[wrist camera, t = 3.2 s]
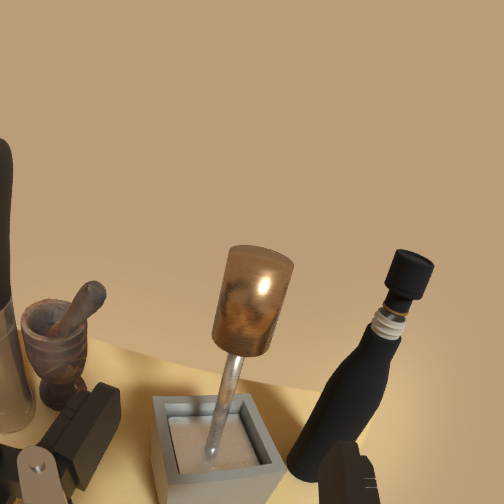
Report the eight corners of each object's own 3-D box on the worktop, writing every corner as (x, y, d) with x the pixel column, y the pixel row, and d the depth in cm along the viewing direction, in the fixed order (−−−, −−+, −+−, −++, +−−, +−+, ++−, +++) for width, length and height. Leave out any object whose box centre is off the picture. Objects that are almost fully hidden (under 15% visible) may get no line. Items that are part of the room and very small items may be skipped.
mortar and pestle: (117, 383, 42) (119, 259, 35) (108, 427, 34) (101, 295, 27) (47, 368, 39) (33, 244, 32) (29, 408, 31) (0, 274, 25)
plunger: (180, 482, 21) (217, 281, 15) (167, 421, 28) (193, 231, 21) (259, 473, 24) (341, 288, 18) (236, 418, 30) (289, 242, 24)
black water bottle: (280, 473, 33) (384, 253, 24) (293, 441, 39) (382, 238, 30) (326, 488, 32) (454, 279, 22) (335, 455, 37) (440, 259, 28)
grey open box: (165, 529, 23) (168, 485, 19) (150, 458, 31) (152, 395, 27) (254, 517, 26) (287, 469, 23) (229, 453, 35) (250, 393, 31)
